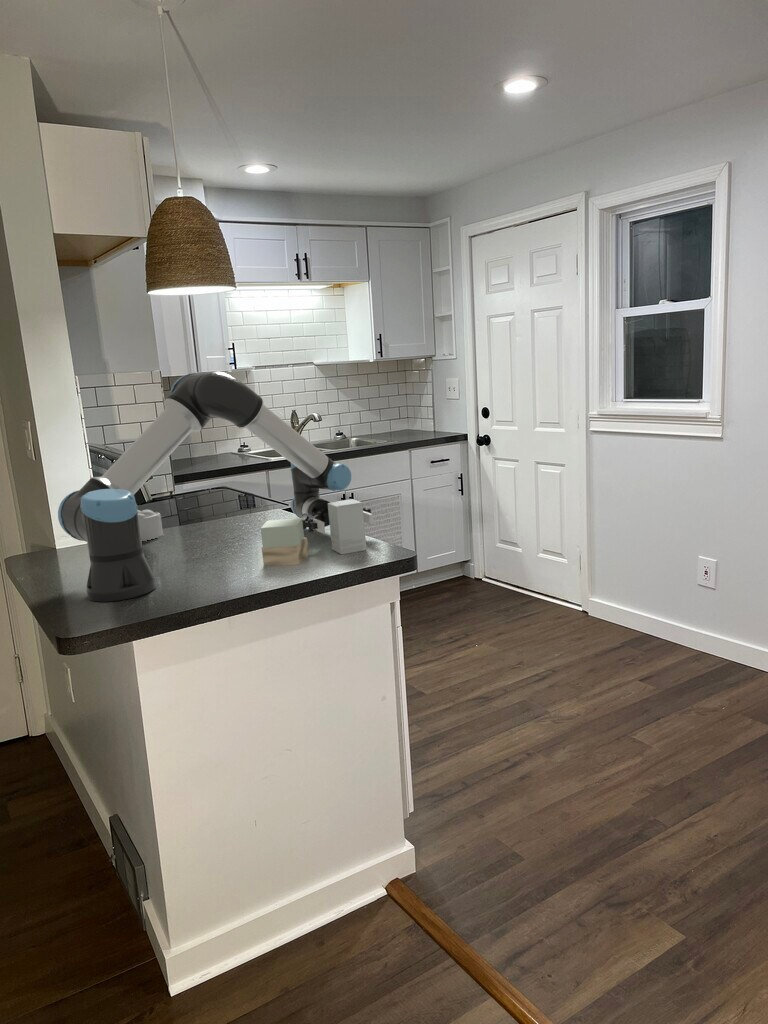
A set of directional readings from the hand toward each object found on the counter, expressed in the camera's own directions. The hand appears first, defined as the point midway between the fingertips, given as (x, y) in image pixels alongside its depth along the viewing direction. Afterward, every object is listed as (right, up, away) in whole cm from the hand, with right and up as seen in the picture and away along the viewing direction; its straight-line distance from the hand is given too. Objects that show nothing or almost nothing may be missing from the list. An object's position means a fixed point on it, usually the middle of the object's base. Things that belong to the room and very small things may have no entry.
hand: (347, 523), depth 197 cm
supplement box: (0, -7, +1) cm, 7 cm away
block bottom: (-15, -10, -5) cm, 19 cm away
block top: (-16, -5, -6) cm, 17 cm away
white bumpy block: (-65, -6, +37) cm, 75 cm away
